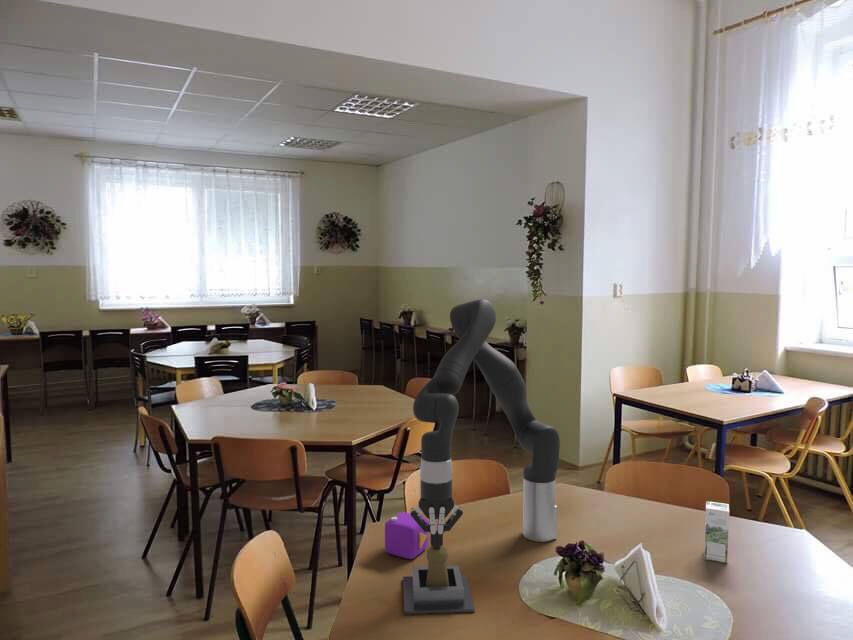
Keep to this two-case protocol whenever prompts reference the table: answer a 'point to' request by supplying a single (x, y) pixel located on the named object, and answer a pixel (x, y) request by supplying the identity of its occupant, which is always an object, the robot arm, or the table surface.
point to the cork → (437, 567)
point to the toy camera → (405, 536)
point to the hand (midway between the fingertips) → (436, 547)
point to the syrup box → (716, 532)
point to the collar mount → (436, 593)
